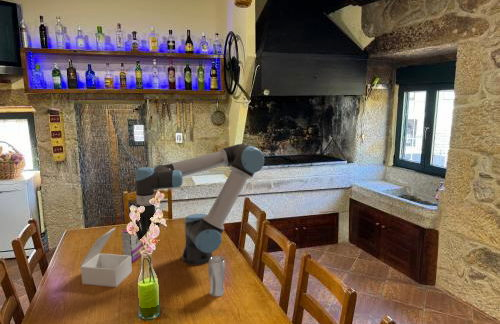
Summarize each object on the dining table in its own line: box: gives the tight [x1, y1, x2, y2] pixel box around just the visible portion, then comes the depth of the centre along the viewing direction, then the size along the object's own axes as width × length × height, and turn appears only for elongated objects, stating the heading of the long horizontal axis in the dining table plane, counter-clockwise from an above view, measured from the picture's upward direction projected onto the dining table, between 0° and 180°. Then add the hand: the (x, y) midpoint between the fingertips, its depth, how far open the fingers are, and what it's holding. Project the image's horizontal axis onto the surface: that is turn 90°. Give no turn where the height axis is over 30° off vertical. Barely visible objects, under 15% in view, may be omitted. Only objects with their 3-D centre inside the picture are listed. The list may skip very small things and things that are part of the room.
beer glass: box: [207, 255, 226, 298], centre depth 145 cm, size 7×7×15 cm
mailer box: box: [80, 252, 133, 288], centre depth 157 cm, size 16×14×8 cm
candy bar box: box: [121, 224, 143, 264], centre depth 176 cm, size 11×5×16 cm, turn 169°
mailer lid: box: [79, 227, 116, 267], centre depth 156 cm, size 16×14×1 cm
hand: (148, 255), depth 153 cm, fingers closed
